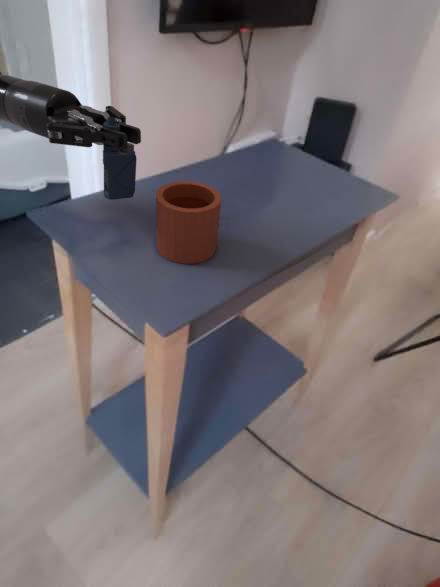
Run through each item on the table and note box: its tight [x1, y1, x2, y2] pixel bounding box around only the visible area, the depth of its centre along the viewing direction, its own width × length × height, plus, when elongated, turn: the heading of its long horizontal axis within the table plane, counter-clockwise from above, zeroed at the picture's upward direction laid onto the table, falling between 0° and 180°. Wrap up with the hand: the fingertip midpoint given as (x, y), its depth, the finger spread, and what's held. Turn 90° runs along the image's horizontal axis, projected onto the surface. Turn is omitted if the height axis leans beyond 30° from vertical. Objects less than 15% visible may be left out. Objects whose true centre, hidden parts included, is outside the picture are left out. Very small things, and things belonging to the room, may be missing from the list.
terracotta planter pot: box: [155, 180, 222, 265], centre depth 67 cm, size 11×11×10 cm
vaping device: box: [102, 117, 138, 201], centre depth 60 cm, size 3×5×12 cm, turn 127°
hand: (132, 139), depth 56 cm, fingers closed on vaping device, 2 cm apart
